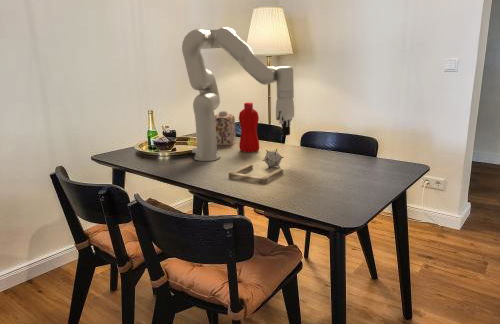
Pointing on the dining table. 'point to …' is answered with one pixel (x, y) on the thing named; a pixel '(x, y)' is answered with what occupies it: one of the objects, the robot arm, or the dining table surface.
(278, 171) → the u-shaped tan bracket
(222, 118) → the decorative jar
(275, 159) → the game die
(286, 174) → the dining table surface
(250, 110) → the water bottle
